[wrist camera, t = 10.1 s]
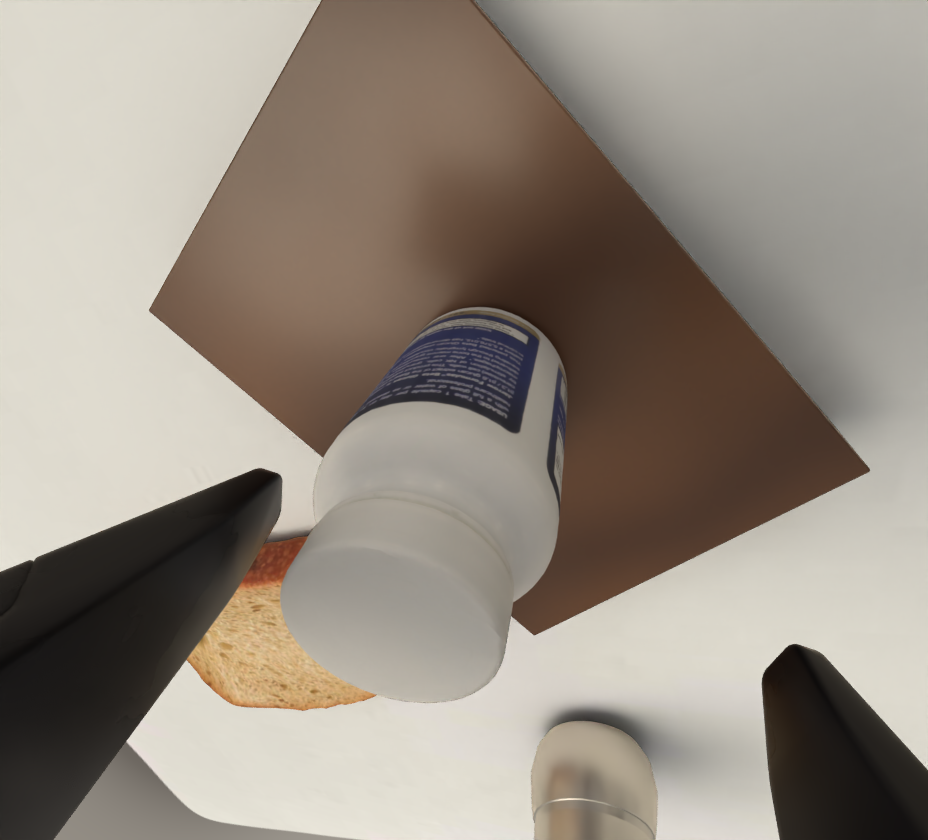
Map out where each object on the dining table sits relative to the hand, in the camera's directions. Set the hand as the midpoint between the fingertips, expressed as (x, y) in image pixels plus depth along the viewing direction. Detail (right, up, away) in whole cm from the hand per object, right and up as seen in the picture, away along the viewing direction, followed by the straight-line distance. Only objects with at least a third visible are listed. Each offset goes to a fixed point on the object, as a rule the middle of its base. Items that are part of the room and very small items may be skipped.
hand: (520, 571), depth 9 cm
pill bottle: (0, +4, +8) cm, 9 cm away
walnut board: (0, +5, +11) cm, 12 cm away
